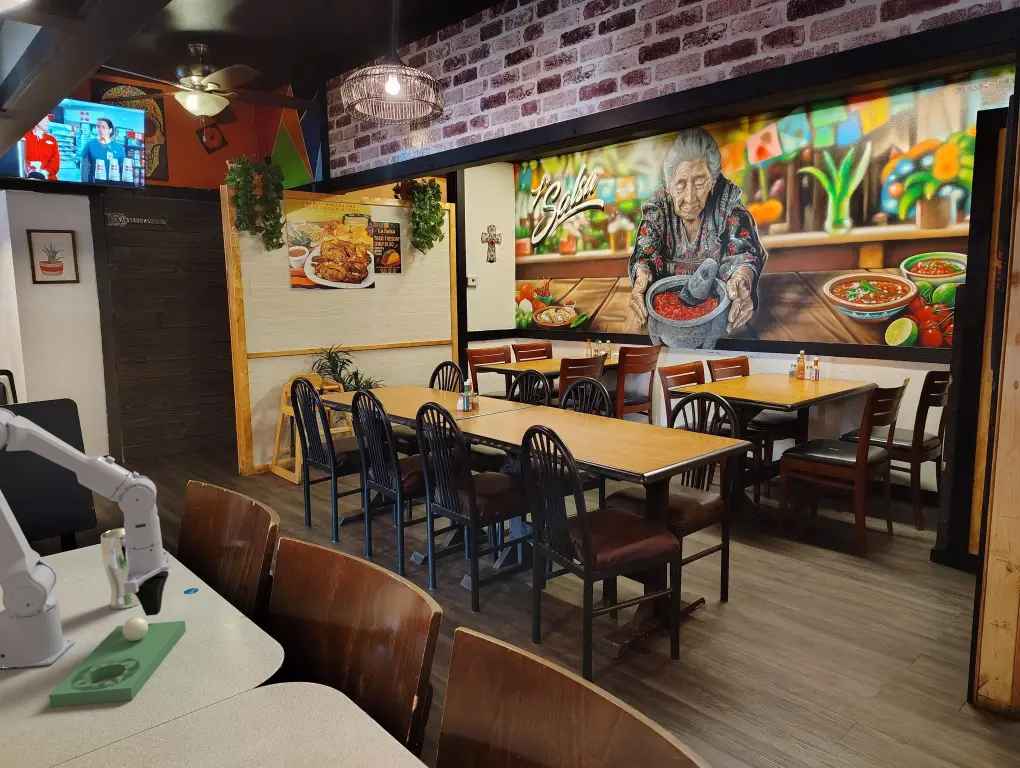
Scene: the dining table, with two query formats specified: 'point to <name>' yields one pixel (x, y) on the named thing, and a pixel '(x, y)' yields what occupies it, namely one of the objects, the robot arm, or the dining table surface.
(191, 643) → the dining table surface
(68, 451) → the robot arm
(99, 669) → the putting mat
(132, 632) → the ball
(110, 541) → the beer glass
